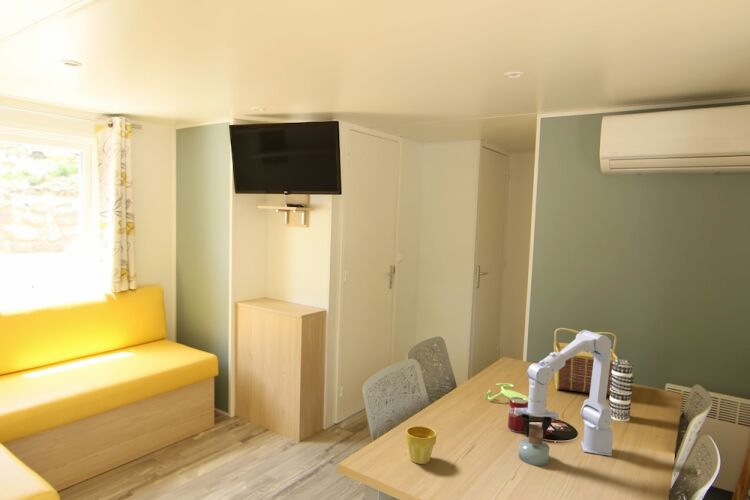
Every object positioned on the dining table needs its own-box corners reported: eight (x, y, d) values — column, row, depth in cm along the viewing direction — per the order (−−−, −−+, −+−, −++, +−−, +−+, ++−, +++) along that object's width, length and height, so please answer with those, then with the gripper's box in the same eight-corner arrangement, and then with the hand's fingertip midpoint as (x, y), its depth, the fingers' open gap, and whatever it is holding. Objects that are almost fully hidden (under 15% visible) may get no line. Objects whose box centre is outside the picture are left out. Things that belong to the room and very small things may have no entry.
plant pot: (415, 449, 171) (417, 422, 171) (440, 459, 165) (442, 431, 164) (398, 459, 163) (400, 431, 163) (424, 470, 157) (425, 441, 156)
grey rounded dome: (547, 454, 171) (548, 441, 171) (549, 468, 162) (550, 454, 161) (518, 450, 174) (519, 436, 174) (519, 463, 164) (519, 449, 164)
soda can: (513, 434, 187) (515, 404, 186) (504, 426, 194) (505, 397, 193) (530, 432, 189) (532, 402, 188) (519, 424, 196) (521, 396, 195)
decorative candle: (606, 418, 205) (610, 361, 204) (607, 411, 213) (611, 356, 212) (630, 423, 201) (635, 365, 199) (630, 416, 209) (634, 360, 208)
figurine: (500, 390, 236) (501, 379, 236) (551, 407, 217) (552, 395, 216) (478, 399, 224) (479, 387, 223) (531, 417, 204) (532, 405, 204)
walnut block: (540, 438, 169) (541, 424, 169) (542, 444, 165) (543, 430, 165) (527, 437, 170) (527, 423, 170) (528, 442, 166) (529, 428, 165)
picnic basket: (552, 393, 234) (556, 332, 232) (549, 376, 259) (553, 322, 257) (618, 401, 226) (622, 339, 224) (608, 384, 251) (612, 327, 249)
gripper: (557, 396, 169) (554, 434, 170) (514, 392, 172) (512, 429, 173) (560, 404, 162) (558, 443, 163) (516, 399, 165) (514, 437, 166)
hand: (534, 436), depth 167 cm, fingers closed on walnut block, 4 cm apart
